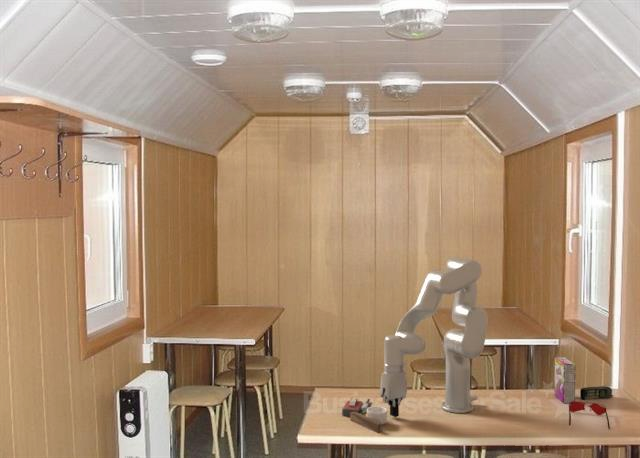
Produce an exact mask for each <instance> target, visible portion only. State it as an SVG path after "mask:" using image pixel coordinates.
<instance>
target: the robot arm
mask: <svg viewBox="0 0 640 458" xmlns="http://www.w3.org/2000/svg"><path fill="white" fill-rule="evenodd" d="M445 268H446V269H445V270H439V269H438V270H437V269H435V270H431V271H429V272H428V273H427V275H426V277H425V279H424V282H423V284H422V286H421V289H420V291H419V294H418V297H417V298H416V301H415V303H414V305H413V306H412V307H411V308H410V309H409V310H408V311H407V312H406V313H405V314H404V316H403V317H402V318H401V320H400V321H399V324H398V325H397V329H396V331H395V334H388V335H386V336H385V337H384V339H383V371H382V374H381V377H380V379H381V380H380V385H379V386H380V388H379V389H380V391H379V395H380V397H381V398H382V403H384V404H388V405H389V415H390V416H392V417H394V418H397V417H399V415H400V413H399V412H400V411H399V410H400V409H399V408H400V405H401V402H402V400H404V399H406V396H407V393H408V385H407V384H408V383H407V382H408V381H407V376H406V371H405V367H406V363H405V356H406V355H409V356H416V355H420V354H422V353H423V352H424V351H425V350H426V348H427V347H426V346H427V345H426V341H425V339H424V338H423V337H422V336H421V335H418V334H417V333H414V332H415V330H416V328H417V326H418V325H419V324H420V323H421V322H422V321H423V320H425V319H427V318H429V317H431V316H433V315H435V314H436V313H437V311H438V308H439V305H440V303H441V300H442V298H443V296H444V295H447V296H448V295H449V296H450V295H453V294H454V299H453V305H452V311H451V320H452V322H453V323H454V324H455V325H456V326H459V327H463V328H464V330H463V329H461V328H460V329H459V328H451V329H450V330H449V329H448V331H446V332H445V335H444V337H443V349H444V355H445V357H444V358H445V399H444V400H445V401H443V402H442V403H441V404H440V406H441V409H442V410H444V411H446V412H449V413H455V414H466V413H467V414H468V413H471V412H472V411H474V407H475V406H474V404H472V403H473V402H474V401H477V400H478V395H471V361H470V360H474V359H478V357H479V356H480V355H482V353H483V351H484V348H485V343H486V336H487V331H488V326H489V325H488V324H489V316H488V313H487V311H486V310H485V309H484V307H481V306H479V305H477V299H478V285H477V281H478V280H479V279H480V278H481V276H482V273H483V268H482V265H481V264H480V262H478V261H477V260H475V259H469V258H464V257H459V256H458V257H457V256H456V257H450V258H449V259H448V260H447V262H446V264H445Z"/></svg>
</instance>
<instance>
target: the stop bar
mask: <svg viewBox="0 0 640 458" xmlns="http://www.w3.org/2000/svg"><path fill="white" fill-rule="evenodd" d="M349 420H350V421H351V422H354V423H355V424H358V425H360V426H362V427H364V428H366V429H369V430H370V431H373V432H375V433H377V434H379V433H382V432H383V425H382V423H380V422H377V421H375V420H373V419H371V418H368V417H367V415H363V413H360V414H359V413H357V412H355V411H354V412H350V419H349Z"/></svg>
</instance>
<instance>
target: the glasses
mask: <svg viewBox="0 0 640 458" xmlns="http://www.w3.org/2000/svg"><path fill="white" fill-rule="evenodd" d="M586 404H588V402H584V401H576V400H575V401H574V402H573V401H571V403H570V404H569V405H568V413H569V414H568V415H569V416H568V417H569V419H568V426H572V425H571V423H572V422H571V421H572V420H571V419H572V415H571V413H576V412H579V411H585V410H586V408H585V407H586ZM588 407H589V411H590V412H594V414H595V415H596V416H602V415H604V414H605V416H606V420H607V421H606V422H607V428H609V429H610V430H611V427H610V420H609V416H608V412H607V407H606V406H605V405H604V404H602V403H596V402H590V405H588ZM609 429H608V430H609Z"/></svg>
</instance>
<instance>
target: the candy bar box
mask: <svg viewBox="0 0 640 458" xmlns="http://www.w3.org/2000/svg"><path fill="white" fill-rule="evenodd" d="M554 397H556V398H557V399H559V401H560V402H561V403H562V404H567V405H568V404H570V403H571V401H573V402H574V401H576V363H574V362H573V361H571V360H570V359H569V358H567V357H562V356H561V357H559V356H557V357H554Z"/></svg>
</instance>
